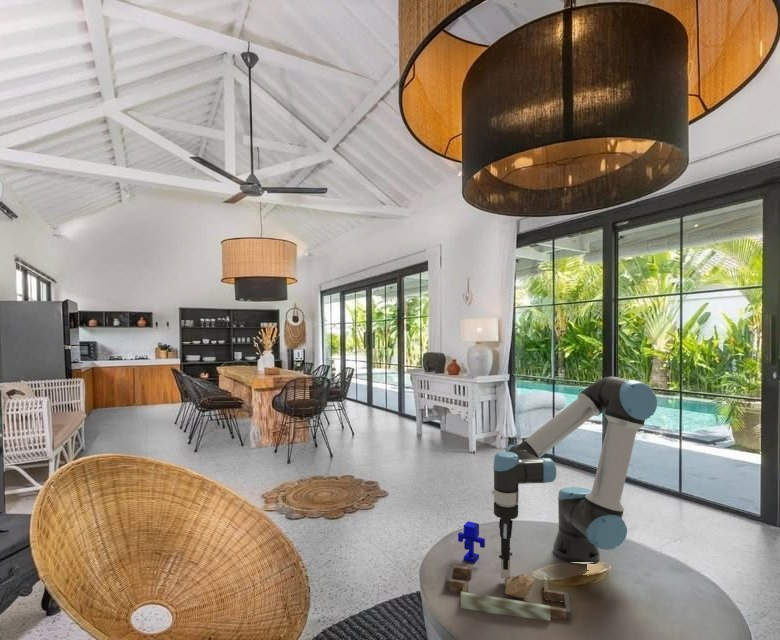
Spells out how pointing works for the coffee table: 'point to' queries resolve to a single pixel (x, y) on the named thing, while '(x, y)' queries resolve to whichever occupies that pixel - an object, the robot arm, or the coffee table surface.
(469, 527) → the figurine
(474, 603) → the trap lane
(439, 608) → the coffee table surface
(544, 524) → the coffee table surface
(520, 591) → the pottery oil lamp
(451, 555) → the coffee table surface
